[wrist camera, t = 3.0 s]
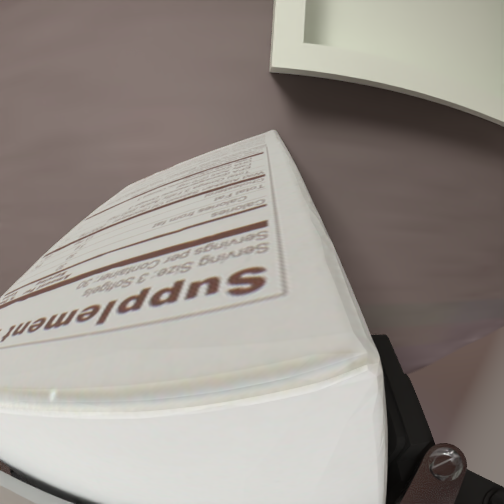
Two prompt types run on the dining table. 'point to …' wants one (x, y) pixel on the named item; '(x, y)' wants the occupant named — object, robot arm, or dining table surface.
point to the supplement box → (195, 348)
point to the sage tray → (398, 47)
